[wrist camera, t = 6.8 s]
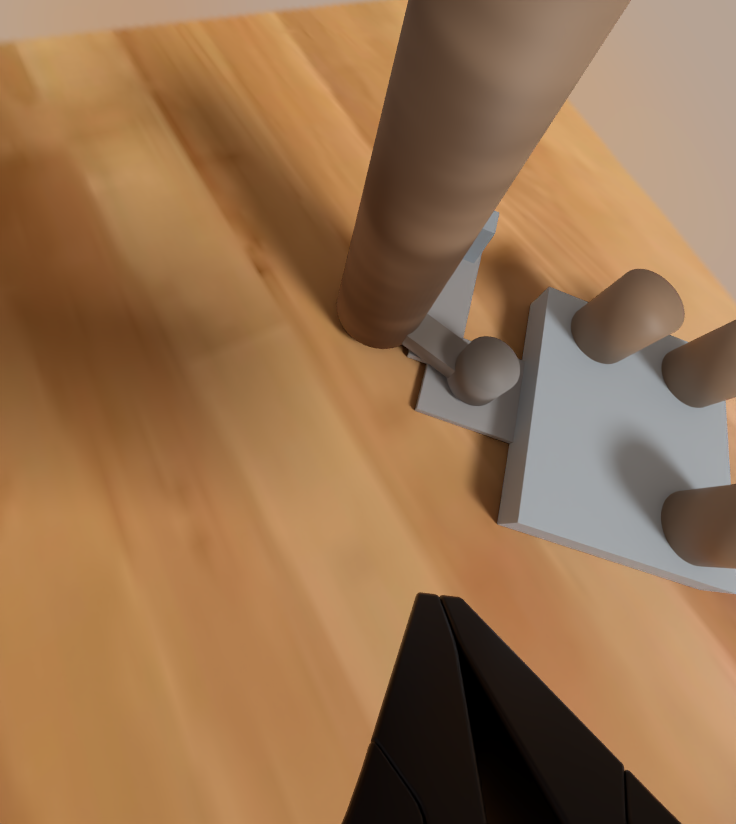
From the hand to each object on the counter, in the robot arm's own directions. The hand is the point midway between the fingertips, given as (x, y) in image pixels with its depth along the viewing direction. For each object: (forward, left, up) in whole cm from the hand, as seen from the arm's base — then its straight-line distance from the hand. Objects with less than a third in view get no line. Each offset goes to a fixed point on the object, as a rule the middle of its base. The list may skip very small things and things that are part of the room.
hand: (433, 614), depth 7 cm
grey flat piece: (+13, +4, -8) cm, 16 cm away
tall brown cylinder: (+7, +8, -8) cm, 13 cm away
